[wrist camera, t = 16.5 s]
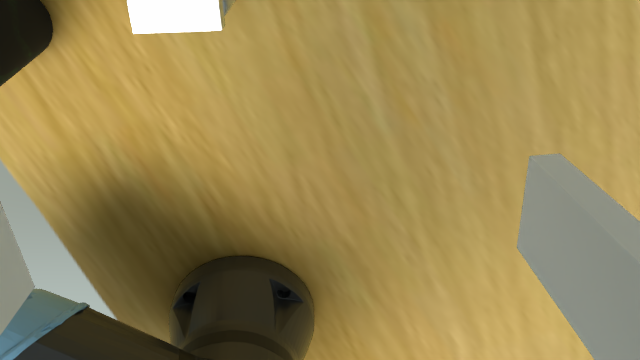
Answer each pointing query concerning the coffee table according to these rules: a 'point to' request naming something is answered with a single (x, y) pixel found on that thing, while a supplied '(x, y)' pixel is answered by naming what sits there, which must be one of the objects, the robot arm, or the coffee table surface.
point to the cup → (22, 34)
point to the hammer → (178, 15)
